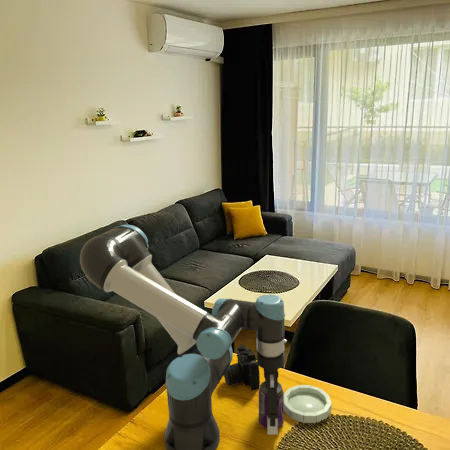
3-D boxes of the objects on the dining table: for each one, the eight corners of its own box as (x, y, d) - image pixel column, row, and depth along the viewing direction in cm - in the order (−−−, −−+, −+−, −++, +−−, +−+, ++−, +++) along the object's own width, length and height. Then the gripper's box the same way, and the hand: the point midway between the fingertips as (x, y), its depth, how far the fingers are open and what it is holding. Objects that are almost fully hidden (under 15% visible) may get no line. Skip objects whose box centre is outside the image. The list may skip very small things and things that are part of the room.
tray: (285, 422, 125) (285, 415, 124) (281, 391, 138) (281, 385, 138) (334, 423, 124) (334, 415, 124) (326, 391, 138) (326, 385, 137)
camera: (219, 371, 150) (218, 345, 148) (248, 365, 153) (247, 340, 151) (231, 396, 138) (230, 368, 135) (262, 389, 140) (262, 361, 138)
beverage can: (282, 433, 121) (282, 396, 118) (257, 430, 123) (256, 393, 119) (284, 415, 128) (284, 380, 125) (260, 413, 129) (260, 378, 126)
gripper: (288, 378, 107) (288, 449, 112) (281, 327, 131) (281, 388, 136) (257, 378, 107) (259, 449, 113) (256, 328, 131) (257, 388, 137)
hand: (271, 416), depth 125 cm, fingers open, 13 cm apart
